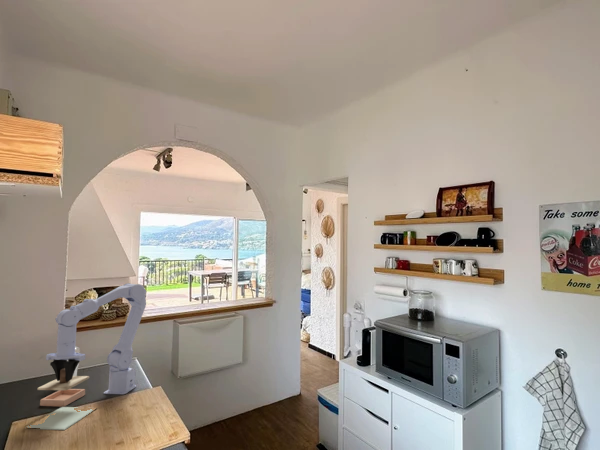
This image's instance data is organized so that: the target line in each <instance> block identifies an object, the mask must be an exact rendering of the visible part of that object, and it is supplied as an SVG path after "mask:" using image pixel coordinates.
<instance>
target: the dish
mask: <svg viewBox="0 0 600 450" xmlns="http://www.w3.org/2000/svg"><path fill="white" fill-rule="evenodd" d="M85 395H86V389H85V388H70V389H68V390H56V391H55V392H53V393H51V394H49V395H47V396H46V397H43V398H41V399H40V401H39V406H41V407H59V408H61V407H67V406H69V404H72V403H73V402H75V401H76V400H78V399H80V398H83V397H84V396H85Z"/></svg>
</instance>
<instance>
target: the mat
mask: <svg viewBox="0 0 600 450" xmlns="http://www.w3.org/2000/svg"><path fill="white" fill-rule="evenodd" d="M74 408H78V407H75V406H65V407H59V408H57V409H55V410H54V411H51V412H50V413H49V414H47V415H50V416H49V417H48V418H47V419H46V420H45V422H44V423H42V424H38V425H31V424H29V425H30V426H31V428H40V429H39V430H49V431H50V430H51V431H52V430H53V431H65V430H68V428H70V427H72V426H73V425H75V424H76V423H78V422H79V421H81V420H83V419H84V418H86V417H87V416H88V414H89V413H90V414H92V413H93V412H94V411H93V410H92V409H90V410H87V411H81V410H78V411H80V412H77V411H76V410H74ZM92 411H93V412H92ZM91 412H92V413H91ZM53 413H56V414H55V415H51V414H53ZM90 414H89V415H90ZM86 415H87V416H86ZM85 416H86V417H85ZM83 417H84V418H83ZM82 418H83V419H82ZM29 425H27V426H26V427H28V428H30V427H29Z"/></svg>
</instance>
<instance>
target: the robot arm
mask: <svg viewBox="0 0 600 450" xmlns="http://www.w3.org/2000/svg"><path fill="white" fill-rule="evenodd" d="M146 294H147V290H146V289H145V287H144V285H142V284H138V283H125V284H123V285H119V286H117V287H116V288H114V289H112V290H111V291H109V292H107V293H105V294H103V295H101V296H99V297H98V298H96V299H94V298H85V299H83V301H82V302H80V303H78V304H76V305H71V306H70V307H69V308H70V309H69V308H68V309H67V308H66V309H63V310H61V311H60V312H58V314H57V315H56V317H55V322H56V324H58V325H57V328H58V329H57V336H56V337H57V341H56V352H53V353H48V354H46V355H45V360H46V361H49V360H51V362H49V363H50V364H49V365H50V366H51V368H52V369H53V372H54V374H55V379H57V381H60V370H61V369H64V368H65V379H66V381H69V380H71V379H72V377H73V374H74V371H75V369H76V367H77V365H78V363H79V364H80V362H82V361H84V360H86V353H81V352H80V353H76V352H75V348H76V346H77V344H76V343H77V342H76V341H77V324H78V323H79V321H80V320H83V319H85V318H86V317H88V316H91V315H92V314H94V313H96V312H98V311H99V308H100V307H102V306H103V305H105V304H108V303H110V302H113V301H115V300H117V299H119V298H123V299H126V300H127V301H128V304H129V305H130V307H131V308H130V310H129V313H128V315H127V319H126V321H125V323H124V327H123V329H122V332H121V334H120V337H119V340H118V342H117V344H115V345H114V346H113V347H112V350H111V351H110V352H109V354H108V355H107V358H106V362H107V364H108V365H109V369H108V370H109V372H108V374H109V375H108V389H107V390H105V391H104V392H103V394H104V395H125V394H128V393H129V392H130V391H132V390H133V389H135V388H136V387H137V385H136V370H135V369H134V368H132V367H130V366H131V365H132V363H133V353H134V350H133V342H134V340H135V337H136V334H137V332H138V329H139V326H140V323H141V320H142V317H143V315H144V313H145V312H144V311H145V309H146V306H147V299H146V297H147V296H146ZM67 360H68V361H67ZM78 366H79V365H78Z"/></svg>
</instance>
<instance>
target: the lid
mask: <svg viewBox="0 0 600 450" xmlns="http://www.w3.org/2000/svg"><path fill="white" fill-rule="evenodd" d="M88 379H90V375H77V376H73V377H72V379H71V380H69V381H66V379H65V368H64V369H61V370H60V381H57V378H55V379H54V380H51V381H49V382H47V383H45V384H43V385H41V386H39V387H37V391H59V390H68V389H73V388H74V387H76V386H78V385H79V384H82V383H83V382H85V381H87V380H88Z"/></svg>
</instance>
